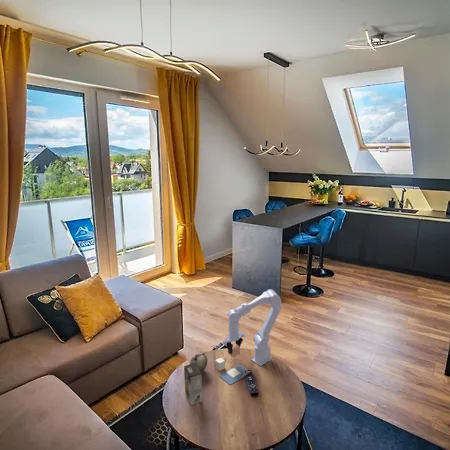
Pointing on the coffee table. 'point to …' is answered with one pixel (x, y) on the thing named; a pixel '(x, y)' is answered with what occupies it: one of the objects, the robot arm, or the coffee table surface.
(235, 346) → the terracotta block
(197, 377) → the coffee box
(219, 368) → the cream block
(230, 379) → the blueprint board
